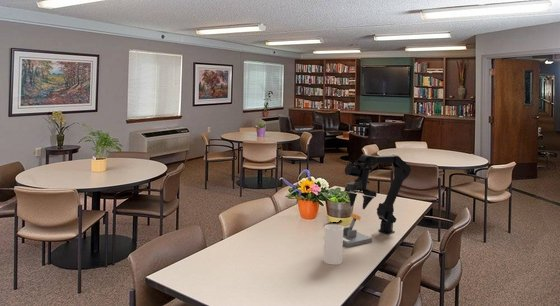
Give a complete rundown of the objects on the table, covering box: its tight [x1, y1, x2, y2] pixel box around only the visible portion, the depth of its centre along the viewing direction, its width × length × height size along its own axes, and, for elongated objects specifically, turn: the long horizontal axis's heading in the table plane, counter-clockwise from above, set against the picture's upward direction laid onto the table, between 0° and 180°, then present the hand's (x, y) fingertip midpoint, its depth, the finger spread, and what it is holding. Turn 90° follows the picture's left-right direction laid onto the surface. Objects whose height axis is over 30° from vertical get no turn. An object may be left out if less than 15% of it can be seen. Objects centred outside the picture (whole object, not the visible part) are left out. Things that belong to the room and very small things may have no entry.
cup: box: [323, 223, 344, 266], centre depth 193 cm, size 8×8×16 cm
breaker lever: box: [347, 213, 361, 232], centre depth 224 cm, size 2×5×11 cm, turn 32°
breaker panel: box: [343, 226, 373, 248], centre depth 223 cm, size 16×18×6 cm
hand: (357, 207), depth 225 cm, fingers open, 9 cm apart
